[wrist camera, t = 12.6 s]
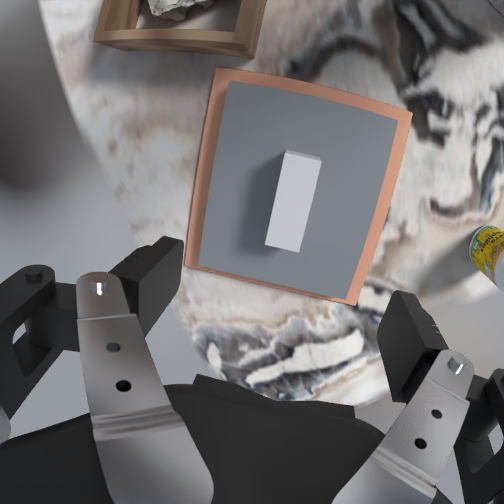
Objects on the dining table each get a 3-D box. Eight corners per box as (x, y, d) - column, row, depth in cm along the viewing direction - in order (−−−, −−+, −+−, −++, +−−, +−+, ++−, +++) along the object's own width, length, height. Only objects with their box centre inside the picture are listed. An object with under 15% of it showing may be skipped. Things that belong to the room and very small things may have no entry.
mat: (411, 113, 27) (412, 112, 27) (354, 304, 36) (355, 305, 36) (217, 67, 29) (216, 67, 28) (185, 264, 37) (184, 265, 37)
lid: (392, 120, 28) (411, 119, 22) (343, 291, 35) (349, 320, 30) (233, 83, 29) (218, 73, 23) (203, 258, 36) (186, 282, 31)
